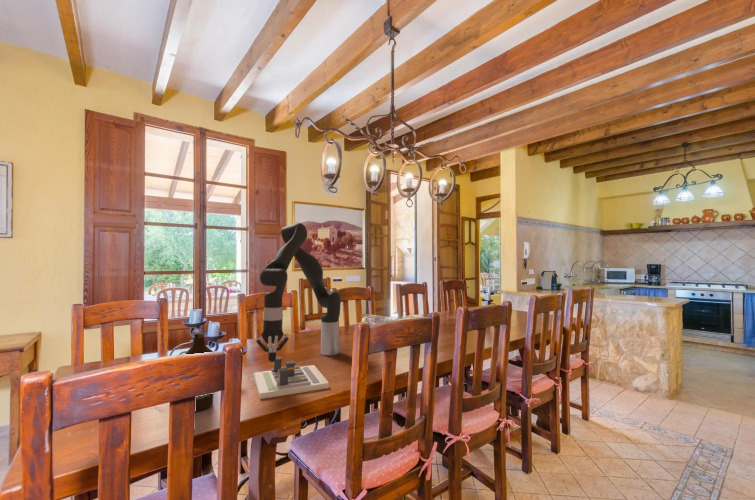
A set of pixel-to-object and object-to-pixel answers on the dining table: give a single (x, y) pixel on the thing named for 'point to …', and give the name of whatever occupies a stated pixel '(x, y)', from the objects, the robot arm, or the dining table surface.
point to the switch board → (288, 380)
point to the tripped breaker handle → (290, 367)
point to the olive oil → (200, 347)
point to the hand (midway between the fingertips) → (271, 361)
